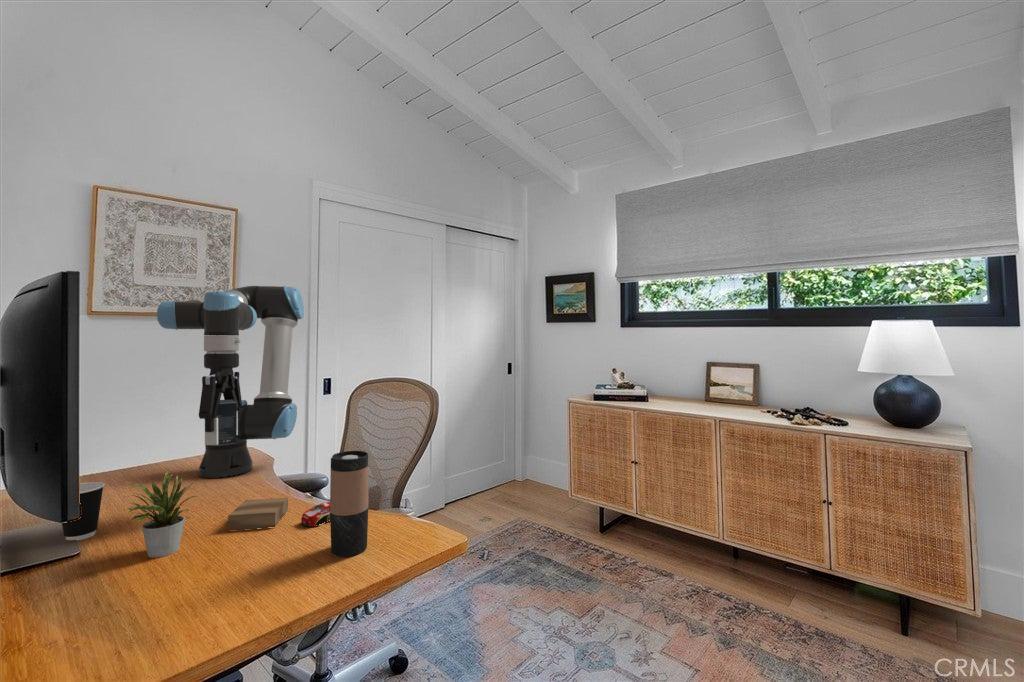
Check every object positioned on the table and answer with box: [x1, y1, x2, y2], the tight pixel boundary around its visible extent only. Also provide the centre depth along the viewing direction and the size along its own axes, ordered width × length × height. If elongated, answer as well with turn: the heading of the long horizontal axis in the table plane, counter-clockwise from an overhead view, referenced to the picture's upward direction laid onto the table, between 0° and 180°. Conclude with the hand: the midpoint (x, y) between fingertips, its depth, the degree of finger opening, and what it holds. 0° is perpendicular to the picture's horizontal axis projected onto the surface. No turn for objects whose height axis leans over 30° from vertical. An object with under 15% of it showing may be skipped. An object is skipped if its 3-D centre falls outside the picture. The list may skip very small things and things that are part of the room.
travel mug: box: [329, 450, 369, 558], centre depth 94 cm, size 8×8×20 cm
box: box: [211, 399, 237, 446], centre depth 114 cm, size 8×6×11 cm
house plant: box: [119, 471, 199, 559], centre depth 93 cm, size 14×14×16 cm
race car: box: [300, 501, 330, 527], centre depth 111 cm, size 13×5×4 cm, turn 143°
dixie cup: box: [61, 481, 106, 541], centre depth 100 cm, size 8×8×11 cm
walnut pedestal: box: [227, 497, 289, 532], centre depth 108 cm, size 10×10×4 cm
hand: (221, 439), depth 114 cm, fingers closed on box, 9 cm apart
